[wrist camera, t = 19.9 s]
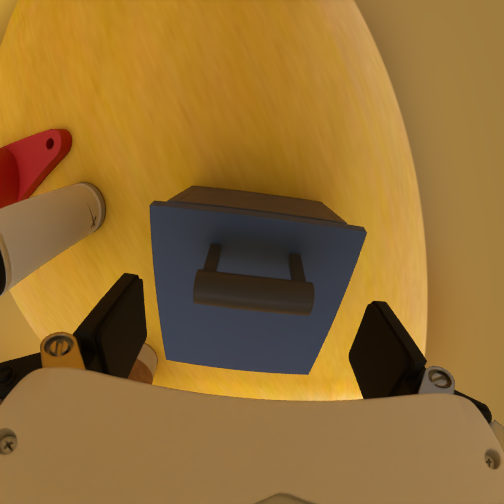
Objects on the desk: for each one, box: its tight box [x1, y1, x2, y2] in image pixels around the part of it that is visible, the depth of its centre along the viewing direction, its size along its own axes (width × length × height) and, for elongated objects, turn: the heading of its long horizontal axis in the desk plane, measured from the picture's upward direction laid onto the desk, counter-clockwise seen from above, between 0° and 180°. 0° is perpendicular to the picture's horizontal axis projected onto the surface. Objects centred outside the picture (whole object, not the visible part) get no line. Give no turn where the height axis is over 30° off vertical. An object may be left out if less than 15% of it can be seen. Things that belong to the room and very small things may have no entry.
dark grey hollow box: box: [167, 186, 347, 224], centre depth 27 cm, size 15×14×9 cm
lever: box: [0, 129, 72, 209], centre depth 24 cm, size 18×9×7 cm, turn 105°
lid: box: [150, 201, 367, 375], centre depth 19 cm, size 15×14×6 cm
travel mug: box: [0, 182, 105, 296], centre depth 20 cm, size 6×7×20 cm
